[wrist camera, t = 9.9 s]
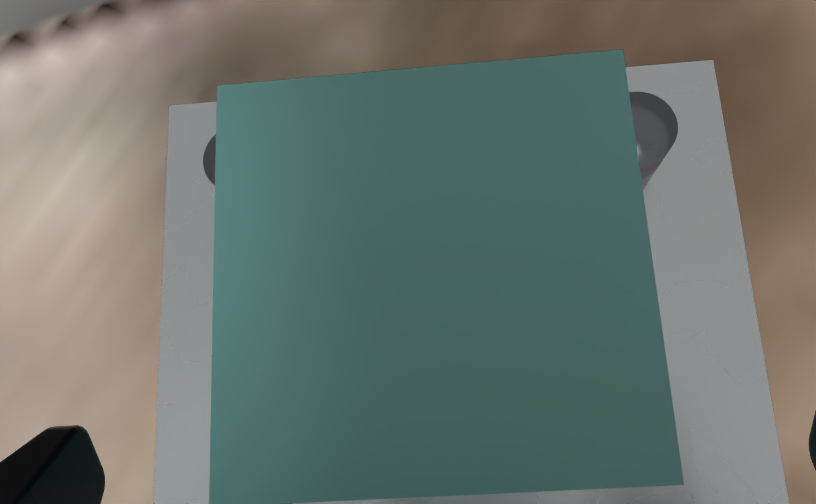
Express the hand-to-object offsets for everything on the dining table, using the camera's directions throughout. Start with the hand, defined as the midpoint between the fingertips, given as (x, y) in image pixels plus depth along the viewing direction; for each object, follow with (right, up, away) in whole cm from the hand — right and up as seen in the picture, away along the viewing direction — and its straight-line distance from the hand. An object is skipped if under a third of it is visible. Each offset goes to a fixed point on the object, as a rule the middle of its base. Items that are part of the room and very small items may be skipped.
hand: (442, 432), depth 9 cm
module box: (+1, 0, +8) cm, 8 cm away
